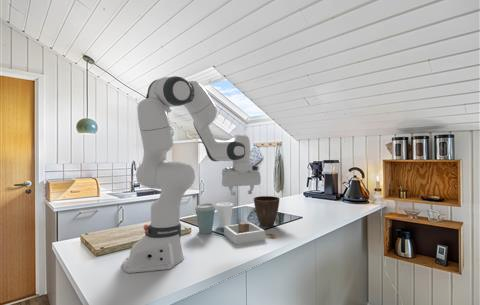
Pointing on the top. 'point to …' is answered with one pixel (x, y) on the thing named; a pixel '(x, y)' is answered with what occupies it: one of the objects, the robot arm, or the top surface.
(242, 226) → the walnut block
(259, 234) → the grey tub
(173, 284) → the top surface
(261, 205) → the plant pot
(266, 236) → the cork coaster
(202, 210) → the disposable coffee cup
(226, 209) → the foam cup
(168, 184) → the robot arm
